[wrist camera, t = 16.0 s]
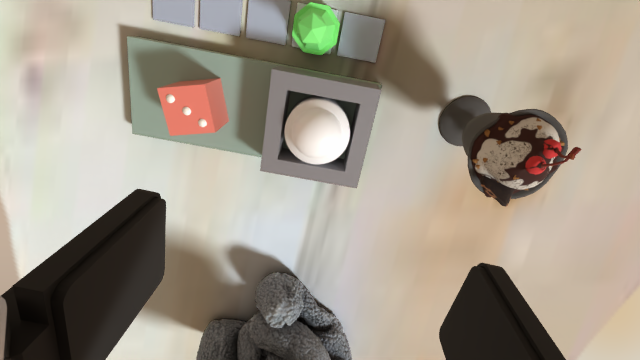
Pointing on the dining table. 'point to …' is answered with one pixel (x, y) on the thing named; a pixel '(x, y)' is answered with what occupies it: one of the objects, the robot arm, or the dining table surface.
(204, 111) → the die
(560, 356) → the robot arm
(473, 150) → the sundae
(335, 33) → the game piece
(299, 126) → the dome
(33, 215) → the dining table surface
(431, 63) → the dining table surface
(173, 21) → the track
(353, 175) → the board
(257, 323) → the koala plush
